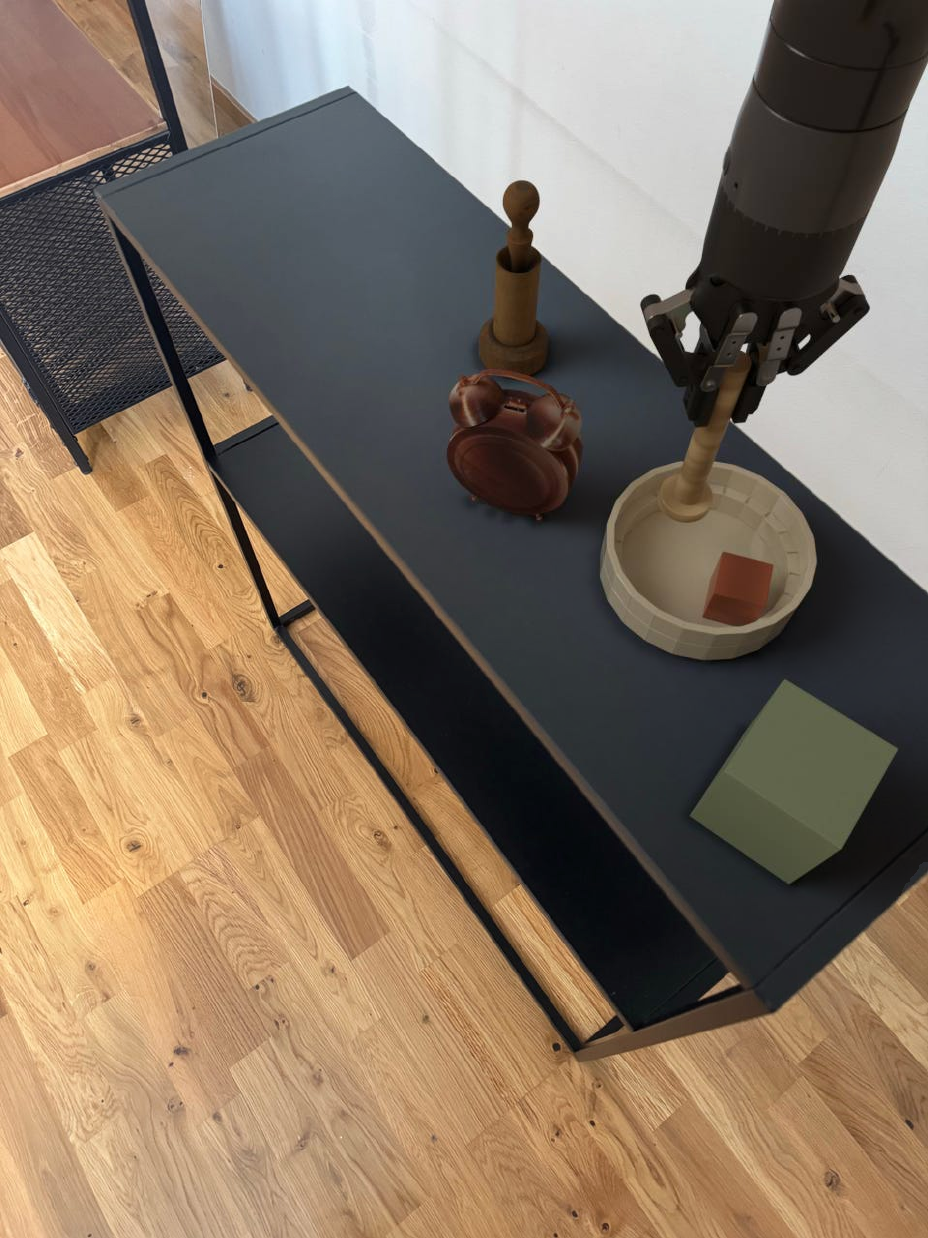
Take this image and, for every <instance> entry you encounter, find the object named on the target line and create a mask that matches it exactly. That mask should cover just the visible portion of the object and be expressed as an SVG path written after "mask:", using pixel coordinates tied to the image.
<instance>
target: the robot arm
mask: <svg viewBox="0 0 928 1238" xmlns="http://www.w3.org/2000/svg"><path fill="white" fill-rule="evenodd" d="M765 28H766V29H765V31H764V35H763V39H762V42H761V45H760V49H759V53H758V57H757V61H756V65H755V68H754V72H753V75H752V79H751V81H750V85H749V87H748V90H747V91H746V94H745V97H744V99H743V101H742V104H741V106H740V109H739V111H738V114H737V117H736V120H735V123H734V126H733V130H732V133H731V138H730V141H729V146H727V148H726V151H725V152H724V156H723V160H722V171H721V175H720V179H719V182H718V185H717V191H716V194H715V197H714V202H713V205H712V208H711V209H712V210H711V213H710V217H709V221H708V224H707V228H706V231H705V235H704V239H703V245H702V250H701V258H700V261H699V263H698V265H697V267H696V268H695V269H694V270H693V272H692V273H691V274H690V275H689V277H688V278H687V279H686V281H685V285H684V289H683V290H681V291H679V292H677V293H675V294H672V295H671V296H669V297H667V298H665V299H663V300H662V298H661V296H660V295H659V294H656V293H651V294H650V293H649V294H647V295H645V296H644V297H643V298H642V299H641V301H640V303H639V307H640V309H641V314H642V316H643V319H644V322H645V326H646V329H647V331H648V335H649V337H650V340H651V341H652V343H653V345H654V347H655V349H656V351H657V353H658V355H659V357H660V359H661V361H662V363H663V365H664V367H665V368H666V370H667V372H668V374H669V376H670V378H671V380H672V382H673V383H674V386H676V387H677V388H685V390H684V393H683V396H682V404H683V406H684V410H685V412H686V415H687V419H688V421H689V422H693V426H694V429H695V428H700V427H707V426H708V423H709V420H710V417H711V414H712V412H713V409H714V406H715V403H716V400H717V397H718V394H719V391H720V390H719V385H720V383H721V381H722V379H723V376H724V374H725V372H726V370H727V368H728V366H733V365H734V363H735V361H736V359H737V357H738V355H739V352H740V350H741V351H742V348H743V346H744V345H747V346H746V350H745V353H746V354H747V355H748V356H749V357H750V359H751V362H752V364H751V367H750V370H749V373H748V375H747V378H746V380H745V383H744V385H743V388H742V391H741V393H740V396H739V398H738V401H737V403H736V406H735V409H734V411H733V414H732V416H731V419H730V420H731V422H732V424H734V425H735V424H745V423H746V422H747V420H748V417H749V416H750V415H753V414H754V413H755V412H756V411H757V410H758V408H759V406H760V403H761V401H762V398H763V396H764V393H765V391H766V389H767V386H769V385H771V384H772V383H773V382H774V381H775V380H776V378H777V376H778V375H781V374H783V373H787V375H788V376H790V377H791V376H792V377H795V376H799V375H801V374H803V373H804V372H805V371H806V370H807V369H808V368H810V367H811V366H812V365H813V364H814V363H815V362H816V361H817V360H818V359H819V358H821V356H823V354H824V353H826V352H827V351H828V350H829V349H830V348H831V347H832V346H834V345H835V344H836V343H837V342H838V341H839V340H840V339H842V337H844V335H846V334H847V333H848V332H849V331H850V330H851V329H852V328H854V327H855V326H856V325H857V324H858V323H859V322H860V321H861V320H862V319H863V318H865V316H867V314H869V312H870V310H871V306H870V303H869V302H868V299H867V297H866V295H865V293H864V291H863V288H862V286H861V285H860V283H859V281H858V280H857V278H856V276H855V275H854V274H845V275H844V276H842V274H843V272H844V270H845V267H846V265H847V263H848V261H849V259H850V257H851V254H852V252H853V249H854V247H855V245H856V242H857V240H858V238H859V236H860V233H861V232H862V229H863V227H864V224H865V223H866V220H867V218H868V216H869V214H870V211H871V209H872V207H873V204H874V202H875V199H876V198H877V195H878V193H879V190H880V189H881V186H882V184H883V182H884V179H885V178H886V175H887V173H888V170H889V168H890V166H891V164H892V162H893V161H892V160H893V158H894V156H895V153H896V150H897V147H898V144H899V141H900V137H901V134H902V133H901V132H902V130H903V126H904V122H905V119H906V117H907V114H908V111H909V110H910V109H909V108H910V105H911V103H912V100H913V99H914V96H915V93H916V91H917V89H918V86H919V84H920V82H921V80H922V77H923V75H924V73H925V70H926V69H927V66H928V0H773V2H772V6H771V9H770V12H769V15H768V20H767V23H766V27H765ZM692 313H693V314H694V316H696V318H697V320H698V321H699V322H700V323H699V329H698V331H699V332H698V333H699V334H698V335H699V336H698V340H697V342H696V345H695V347H694V350H693V352H691V351H687V350H686V349H685V346H684V344H683V342H682V340H681V339H682V337H683V336H684V333H683V331H684V330H685V329H686V327H687V321H686V320H687V317H688V316H689V315H690V314H692ZM808 336H809V339H808V341H807V343H805V344H804V345H803V346H802V347H800V344H801V343H802V342H803V341H804V340H805V339H806V338H807V337H808Z"/></svg>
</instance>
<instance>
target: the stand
mask: <svg viewBox="0 0 928 1238" xmlns="http://www.w3.org/2000/svg"><path fill="white" fill-rule="evenodd" d="M898 751H899V748H898V747H897V746H895V745H894V744H891V743H890V742H888V741H886V740H885V739H883V738H882V737H880V736H878V735H877V734H875V733H873V732H872V731H870V730H869V729H867V728H865V727H864V726H862V725H861V724H859V723H857V722H856V721H854V720H852V719H851V718H849V717H848V716H846V715H845V714H843V713H841V712H840V711H838V710H836V709H835V708H833V707H831V706H830V705H828V704H827V703H825V702H823V701H821V700H820V699H818V698H817V697H815V696H813V695H812V694H811V693H809V692H807V691H805V690H804V689H802V688H801V687H799V686H798V685H795V684H794V683H792V682H791V681H789V680H787V679H786V678H784V679H783V680H782V681H781V683H780V684H779V685H778V687H777V688H776V690H775V691H774V693H773V694H772V695H771V696H770V698H768V700H767V701H766V703H765V704H764V706H763V707H762V709H760V711H759V713H758V714H757V715H756V717H755V718H754V719H753V721H752V722H751V723H750V724H749V726H748V727H747V729H746V730H745V731H744V733H743V734H742V735H741V737H740V739H739V740H738V742H737V743H736V745H735V746H734V748H733V749H732V751H731V752H730V754H729V755H728V757H727V758H726V760H725V761H724V762H723V765H722V766H721V768H720V769H719V771H718V772H717V774H716V775H715V776H714V778H713V779H712V781H711V783H710V784H709V786H708V787H707V789H706V790H705V792H704V794H703V795H702V796H701V798H700V800H698V802H697V804H696V806H695V807H694V808H693V810H692V811H691V813H690V814H689V817H690V818H692V819H693V820H695V822H697V823H699V824H701V826H703V827H705V828H706V829H707V830H709V831H711V832H712V833H713V834H715V835H717V836H718V837H719V838H721V839H722V840H724V841H725V842H726V843H728V844H729V845H731V846H732V847H734V848H735V849H737V850H738V851H739V852H741V853H742V854H743V855H745V856H747V857H748V858H750V859H751V860H753V861H754V862H755V863H757V864H759V865H760V866H761V867H763V868H764V869H766V870H767V871H768V872H770V873H771V874H773V875H774V876H775V877H777V878H779V879H780V880H781V881H783V882H784V883H786V884H787V885H791V884H792V883H794V882H796V881H797V880H798V879H800V878H801V877H803V876H804V875H806V874H807V873H808V872H810V871H812V870H813V869H815V868H816V867H818V866H819V865H820V864H822V863H824V862H825V861H826V860H827V859H829V858H831V857H832V856H834V855H835V854H837V853H839V852H840V851H841V850H842V849H843V848H844V846H845V844H846V842H847V841H848V839H849V837H850V835H851V833H852V832H853V830H854V828H855V826H856V825H857V823H858V821H859V819H860V818H861V816H862V814H863V813H864V811H865V809H866V807H867V805H868V804H869V802H870V800H871V799H872V797H873V794H875V791H876V789H877V788H878V786H879V784H880V782H881V781H882V779H883V777H884V775H885V774H886V772H887V770H888V768H889V767H890V765H891V763H892V761H893V760H894V758H895V756H896V754H897V752H898Z"/></svg>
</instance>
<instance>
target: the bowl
mask: <svg viewBox="0 0 928 1238" xmlns="http://www.w3.org/2000/svg"><path fill="white" fill-rule="evenodd" d="M683 462H684V460H683V461H682V460H681V461H680V460H679V461H676V462H672V463H669V464H666V465H662V466H659V467H655V468H653V469H650V470H649V471H648V472H646V473H645V474H643V475H641V476H639V477H638V478H636V479H635V480H633V481H631V482H630V484H629V485H628V486H627V487H626V488H625V489H624V491H623V492H622V493H621V494H620V495H619V496H618V498H617V499H616V500H615V502H614V504H613V507H612V509H611V512H610V515H609V518H608V520H607V523H606V527H605V531H604V536H603V540H602V545H601V548H600V553H599V554H600V555H599V578H600V581H601V584H602V588H603V590H604V593H605V596H606V600H607V601H608V603H609V605H610V606H611V608H612V609H613V610H614V612H615V614H616V615H617V616H618V618H619V619H620V621H621V623H623V624H624V625H625V626H627V627H628V628H629V629H630V630H631V631H632V632H634V633H635V634H636V635H638V637H640V638H641V639H642V640H643V641H645V642H646V643H648V644H651V645H653V646H655V647H657V648H659V649H661V650H663V651H664V652H667V653H670V654H671V655H676V656H680V657H684V658H690V659H695V660H699V661H713V660H730V659H731V660H732V659H735V658H738V657H741V656H744V655H747V654H750V653H752V652H755V651H759V650H760V649H761V648H763V647H764V646H765V645H767V644H768V643H770V642H771V641H772V640H774V639H775V638H776V637H778V636H779V635H780V634H781V633H782V631H783V630H784V628H785V627H786V625H787V624H788V622H789V621H790V620H791V618H792V617H793V615H794V613H795V612H796V610H797V609H798V607H799V606H800V604H801V603H802V601H803V600H804V598H805V597H806V595H807V594H808V592H809V591H810V590H811V587H812V586H813V581H814V576H815V573H816V568H817V565H818V559H817V551H816V543H815V536H814V533H813V532H812V530H811V528H810V525H809V523H808V521H807V519H806V517H805V515H804V513H803V512H802V510H801V509H800V508H799V507H798V506H797V504H795V502H794V501H793V500H792V499H791V498H790V497H789V495H788V494H787V493H786V492H785V491H783V490H782V489H781V488H779V487H778V486H776V485H775V484H774V483H772V482H771V481H769V480H768V479H766V478H765V477H764V476H762V475H760V474H758V473H755V472H753V471H751V470H749V469H746V468H744V467H741V466H738V465H736V464H731V463H725V462H719V461H715V460H714V462H713V465H712V468H711V470H710V473H709V475H708V478H707V480H706V482H707V483H708V485H709V486H710V488H711V490H712V493H713V502H712V505H711V507H710V509H709V512H708V513H707V514H706V516H705V517H703V518H702V519H700V520H698V521H696V522H691V523H683V522H678V521H675V520H673V519H671V518H669V517H668V516H667V515H665V513H664V512H663V511H662V510H661V508H660V506H659V502H658V495H659V492H660V489H661V486H662V484H663V482H664V481H665V480H666V479H667V478H669V477H670V476H673V475H675V474H680V471H681V468H682V465H683ZM722 552H727V553H731V554H735V555H739V556H743V557H747V558H751V559H755V560H758V561H762V562H766V563H770V564H773V565H774V566H773V571H772V577H771V582H770V587H769V593H768V598H767V604H766V607H765V609H764V610H763V612H762V614H761V616H760V617H759V619H758V620H757V621H755V622H753V623H750V624H747V625H744V626H738V627H736V626H732V625H728V624H725V623H721V622H717V621H713V620H710V619H706V618H703V617H702V615H703V610H704V606H705V602H706V597H707V593H708V588H709V584H710V579H711V576H712V574H713V572H714V570H715V567H716V565H717V563H718V561H719V559H720V557H721V554H722Z"/></svg>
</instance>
